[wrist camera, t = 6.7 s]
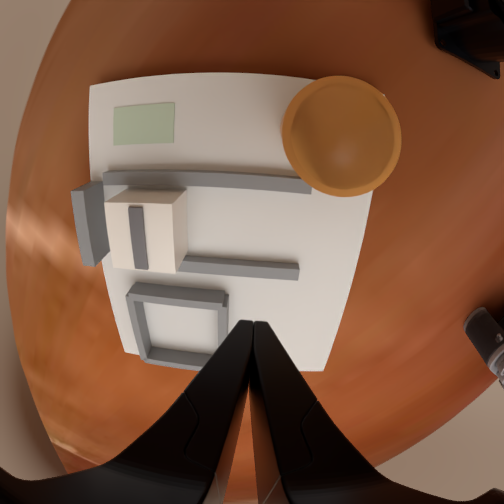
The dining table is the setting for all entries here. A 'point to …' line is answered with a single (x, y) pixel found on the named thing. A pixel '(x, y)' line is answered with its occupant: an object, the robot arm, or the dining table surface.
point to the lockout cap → (341, 136)
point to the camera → (487, 339)
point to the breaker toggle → (148, 229)
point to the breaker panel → (218, 217)
